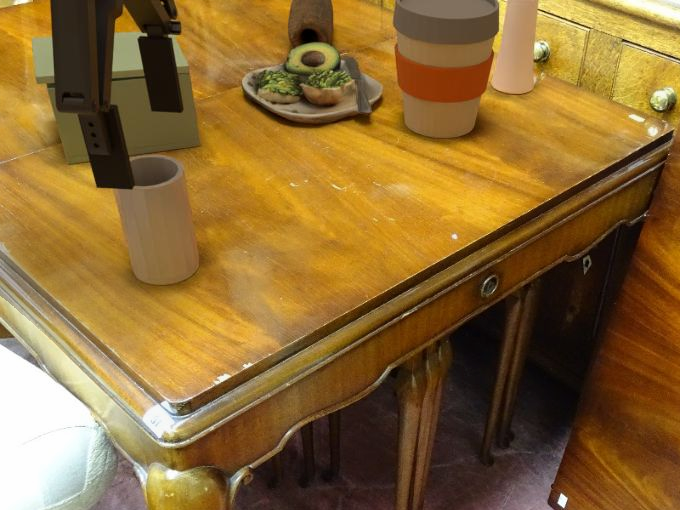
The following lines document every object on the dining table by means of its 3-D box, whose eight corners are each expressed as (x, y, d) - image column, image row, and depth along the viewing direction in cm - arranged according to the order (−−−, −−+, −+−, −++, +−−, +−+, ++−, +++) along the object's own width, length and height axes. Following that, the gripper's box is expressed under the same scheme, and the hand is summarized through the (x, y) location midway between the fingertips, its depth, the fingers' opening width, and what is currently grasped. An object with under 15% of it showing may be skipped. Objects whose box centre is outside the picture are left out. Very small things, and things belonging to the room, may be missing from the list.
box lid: (37, 84, 80) (35, 76, 79) (32, 44, 88) (31, 37, 87) (189, 72, 85) (189, 65, 84) (172, 36, 93) (171, 29, 93)
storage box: (67, 164, 86) (46, 88, 80) (61, 120, 94) (41, 48, 88) (200, 146, 91) (190, 73, 85) (183, 105, 99) (172, 36, 93)
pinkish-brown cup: (124, 283, 70) (99, 186, 64) (144, 245, 75) (124, 152, 68) (190, 287, 70) (172, 191, 64) (206, 249, 75) (191, 156, 68)
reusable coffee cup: (370, 119, 98) (370, -3, 89) (438, 93, 105) (445, -22, 96) (441, 155, 92) (449, 28, 82) (508, 125, 99) (524, 4, 89)
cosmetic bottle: (490, 92, 106) (510, -83, 92) (490, 75, 111) (508, -94, 97) (534, 96, 106) (560, -79, 92) (532, 78, 111) (556, -91, 97)
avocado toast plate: (420, 111, 101) (421, 77, 98) (300, 144, 92) (298, 108, 89) (340, 62, 112) (339, 30, 109) (227, 87, 103) (223, 53, 101)
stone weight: (288, 24, 123) (285, -19, 119) (332, 24, 124) (331, -19, 120) (289, 61, 112) (286, 13, 107) (338, 60, 113) (337, 14, 108)
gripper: (64, -107, 41) (141, 229, 55) (190, -173, 60) (224, 87, 74) (-76, -114, 41) (35, 223, 55) (94, -179, 60) (145, 83, 74)
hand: (144, 145), depth 64 cm, fingers open, 13 cm apart
